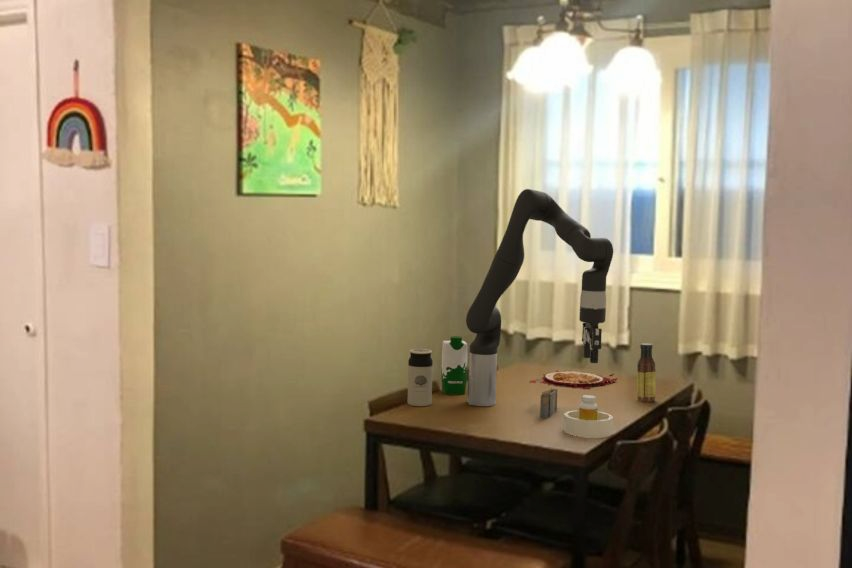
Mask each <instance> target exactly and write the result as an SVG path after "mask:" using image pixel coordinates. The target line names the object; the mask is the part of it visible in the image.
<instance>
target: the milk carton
mask: <svg viewBox="0 0 852 568" xmlns="http://www.w3.org/2000/svg"><path fill="white" fill-rule="evenodd" d="M440 373H441V377H440V378H441V389H442V392H443V393H444V394H445V395H466V388H467V383H468V343H467V342H466V341H465V340H463V337H462V336H450V340H442V348H441V372H440Z"/></svg>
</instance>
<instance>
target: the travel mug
mask: <svg viewBox="0 0 852 568" xmlns="http://www.w3.org/2000/svg"><path fill="white" fill-rule="evenodd" d="M432 353H433V351H432V350H431V349H429V348H427V349H426V348H414V349H413V348H412V349H409V354H410V356H409V358H408V365H407V367H408V368H407V371H408V372H407V374H408V375H407V404H408V405H409V406H412V407H429V406H430V405H432V402H433V400H432V398H433V395H432V393H433V358H432V357H431V355H432Z"/></svg>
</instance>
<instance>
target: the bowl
mask: <svg viewBox="0 0 852 568" xmlns="http://www.w3.org/2000/svg"><path fill="white" fill-rule="evenodd" d="M562 421H563V423H562V425H563V426H562V427H563V429H562V431H563V432H564V434H566V433H567V435H570V436H572V435H573V437H576V436H578V438H583V437H585V439H602V438H608V437H610V436H611V435H613V433H614V432H613V430H614V429H613V428H614V417H613V415H611V414H610V413H607V412H603V411H599V410H598V412H597V420H582V419H579V409H575V410H568V411H565V412H564V413H563V420H562Z"/></svg>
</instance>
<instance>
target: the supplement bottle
mask: <svg viewBox="0 0 852 568" xmlns="http://www.w3.org/2000/svg"><path fill="white" fill-rule="evenodd" d="M578 407H579V408H578V410H579V419H582V420H597V412H598V411H599V409H598V407H599V406H598V404H597V403H596V395H592V394H591V395H589V394H586V395H582V396H581V403H580V404H579V405H578Z"/></svg>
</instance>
